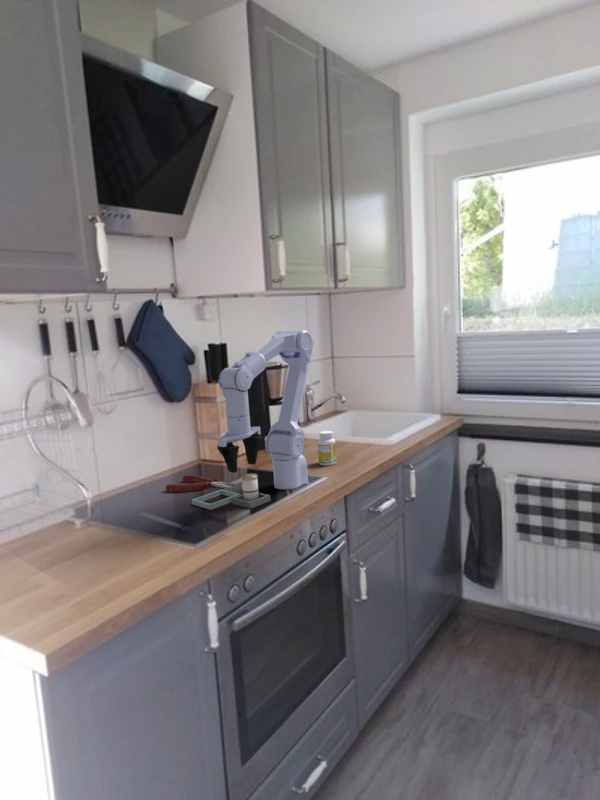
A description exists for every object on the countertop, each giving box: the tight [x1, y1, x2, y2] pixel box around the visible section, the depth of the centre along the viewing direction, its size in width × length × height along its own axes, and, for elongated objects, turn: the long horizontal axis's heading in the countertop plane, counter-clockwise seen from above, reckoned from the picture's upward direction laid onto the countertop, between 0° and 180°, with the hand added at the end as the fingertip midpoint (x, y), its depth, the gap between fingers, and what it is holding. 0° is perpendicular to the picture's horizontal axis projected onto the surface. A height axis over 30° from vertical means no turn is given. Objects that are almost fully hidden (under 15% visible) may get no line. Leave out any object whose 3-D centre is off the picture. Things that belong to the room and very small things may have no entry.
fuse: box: [240, 473, 260, 502], centre depth 149 cm, size 4×4×7 cm
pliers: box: [165, 474, 239, 493], centre depth 168 cm, size 12×20×3 cm, turn 70°
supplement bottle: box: [317, 430, 337, 466], centre depth 185 cm, size 6×6×10 cm
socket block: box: [231, 492, 271, 509], centre depth 149 cm, size 7×7×2 cm
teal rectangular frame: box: [191, 488, 242, 510], centre depth 152 cm, size 10×8×2 cm
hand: (242, 468), depth 147 cm, fingers open, 7 cm apart
